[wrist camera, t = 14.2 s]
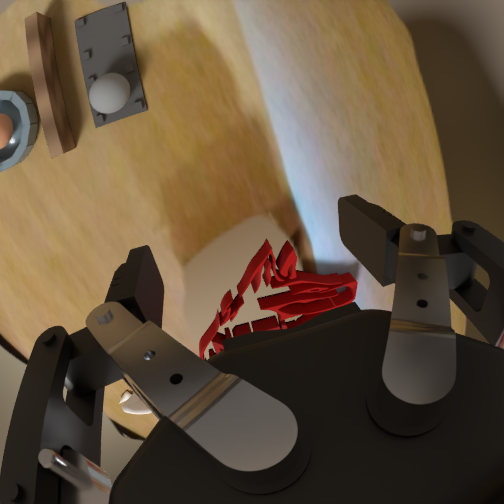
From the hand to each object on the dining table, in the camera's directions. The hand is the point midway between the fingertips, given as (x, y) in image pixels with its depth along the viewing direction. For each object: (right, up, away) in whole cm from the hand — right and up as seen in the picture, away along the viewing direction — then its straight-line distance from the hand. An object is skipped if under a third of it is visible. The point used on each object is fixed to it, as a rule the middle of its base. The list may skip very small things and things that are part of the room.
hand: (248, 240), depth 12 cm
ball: (-33, +15, +14) cm, 39 cm away
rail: (-25, +21, +15) cm, 37 cm away
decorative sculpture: (+3, -12, +40) cm, 42 cm away
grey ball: (-16, +18, +16) cm, 29 cm away
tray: (-18, +23, +16) cm, 33 cm away
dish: (-34, +17, +16) cm, 41 cm away
